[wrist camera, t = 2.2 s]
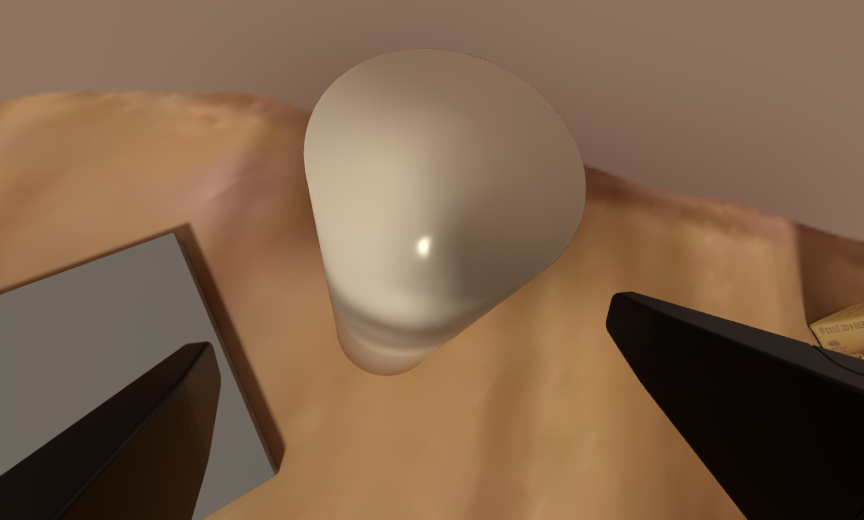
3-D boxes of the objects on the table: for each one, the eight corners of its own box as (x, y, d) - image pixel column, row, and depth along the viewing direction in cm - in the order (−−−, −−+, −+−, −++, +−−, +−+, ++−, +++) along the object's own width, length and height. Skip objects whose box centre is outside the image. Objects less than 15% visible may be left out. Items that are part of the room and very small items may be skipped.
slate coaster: (278, 472, 15) (274, 475, 15) (-86, 692, 12) (-115, 710, 11) (180, 239, 18) (173, 232, 17) (-144, 359, 14) (-171, 356, 13)
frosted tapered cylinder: (446, 294, 19) (599, 102, 7) (420, 389, 17) (567, 336, 6) (357, 264, 19) (364, 14, 7) (321, 357, 17) (248, 231, 5)
